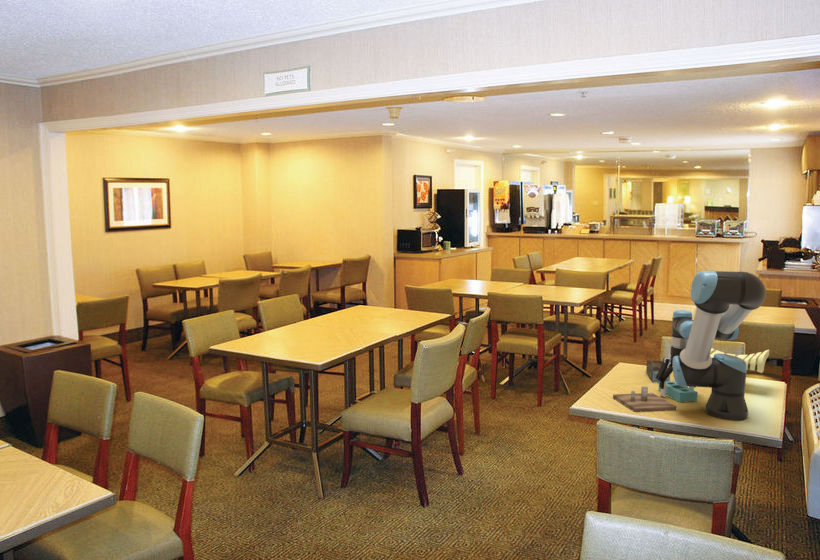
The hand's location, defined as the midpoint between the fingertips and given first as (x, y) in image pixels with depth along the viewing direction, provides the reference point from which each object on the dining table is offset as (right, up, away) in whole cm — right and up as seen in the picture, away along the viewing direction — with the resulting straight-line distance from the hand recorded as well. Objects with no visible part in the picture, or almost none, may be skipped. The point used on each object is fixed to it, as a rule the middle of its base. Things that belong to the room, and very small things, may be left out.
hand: (677, 395), depth 274 cm
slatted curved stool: (+29, +1, +16) cm, 33 cm away
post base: (-18, -1, -11) cm, 22 cm away
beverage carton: (+2, +3, +28) cm, 28 cm away
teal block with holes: (0, 0, 0) cm, 0 cm away
